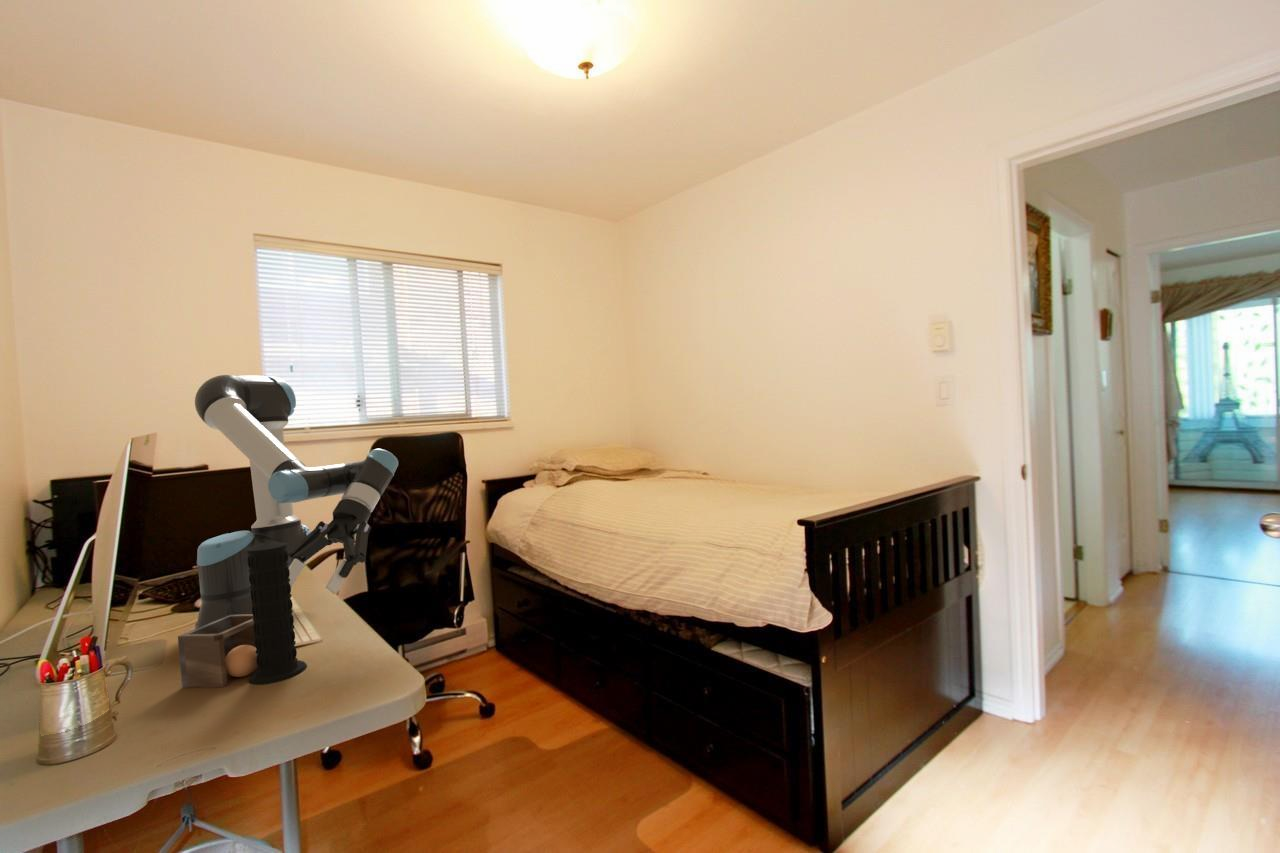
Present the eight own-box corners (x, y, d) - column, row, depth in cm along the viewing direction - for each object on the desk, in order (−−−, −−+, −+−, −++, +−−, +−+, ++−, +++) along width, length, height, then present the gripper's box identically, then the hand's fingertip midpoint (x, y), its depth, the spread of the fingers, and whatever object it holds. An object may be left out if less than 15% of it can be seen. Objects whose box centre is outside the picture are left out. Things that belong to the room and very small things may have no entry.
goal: (234, 660, 125) (230, 614, 125) (271, 660, 123) (267, 613, 123) (182, 687, 113) (177, 636, 113) (223, 687, 112) (218, 635, 111)
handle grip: (284, 683, 111) (317, 661, 121) (272, 545, 111) (306, 534, 121) (235, 685, 112) (273, 662, 122) (223, 548, 112) (261, 537, 122)
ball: (268, 666, 120) (242, 659, 121) (266, 642, 118) (240, 635, 119) (244, 686, 114) (217, 679, 115) (242, 661, 112) (214, 654, 113)
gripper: (407, 514, 136) (363, 600, 122) (326, 516, 144) (276, 595, 130) (388, 496, 131) (340, 582, 117) (305, 498, 139) (251, 579, 125)
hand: (306, 589), depth 124 cm, fingers open, 13 cm apart
